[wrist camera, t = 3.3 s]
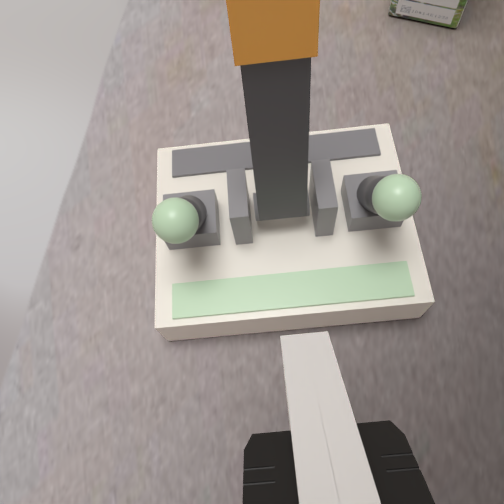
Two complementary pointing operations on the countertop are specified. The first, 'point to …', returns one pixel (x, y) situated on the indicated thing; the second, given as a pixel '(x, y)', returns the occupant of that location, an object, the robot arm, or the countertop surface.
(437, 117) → the countertop surface
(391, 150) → the lever control panel
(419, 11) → the syrup box
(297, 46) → the breaker lever
